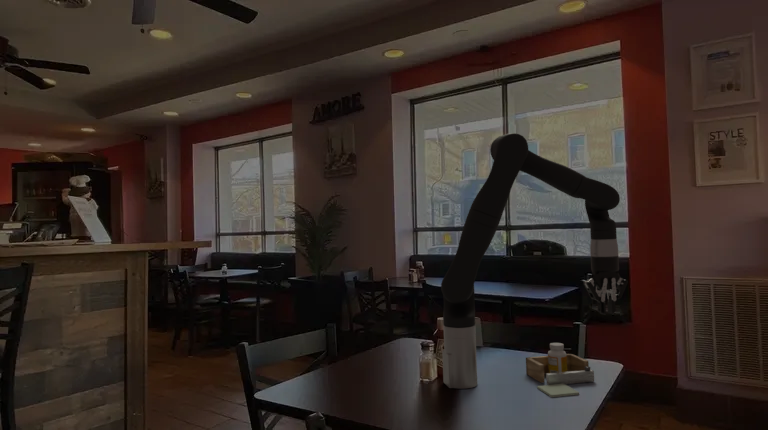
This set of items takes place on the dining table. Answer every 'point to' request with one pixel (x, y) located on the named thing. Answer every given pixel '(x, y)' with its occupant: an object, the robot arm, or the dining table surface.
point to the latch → (570, 377)
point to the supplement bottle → (557, 358)
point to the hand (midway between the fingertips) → (607, 313)
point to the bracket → (540, 366)
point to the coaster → (558, 390)
